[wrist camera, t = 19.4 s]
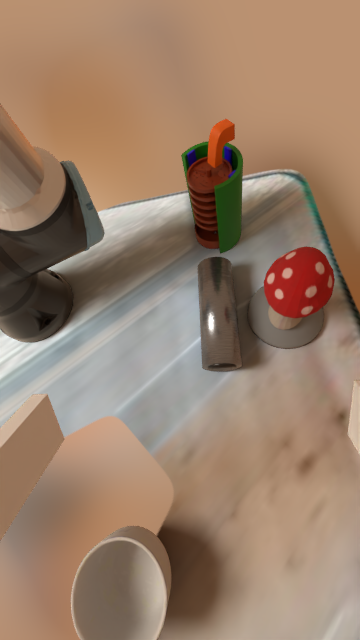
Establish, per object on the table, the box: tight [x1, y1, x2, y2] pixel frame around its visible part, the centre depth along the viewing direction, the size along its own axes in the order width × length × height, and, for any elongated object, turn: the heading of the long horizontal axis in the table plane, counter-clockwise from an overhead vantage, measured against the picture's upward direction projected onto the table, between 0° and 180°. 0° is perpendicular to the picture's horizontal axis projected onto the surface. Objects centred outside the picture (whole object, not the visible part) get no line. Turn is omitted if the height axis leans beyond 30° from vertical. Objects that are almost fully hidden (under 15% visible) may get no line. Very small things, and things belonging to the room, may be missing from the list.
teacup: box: [71, 526, 171, 640], centre depth 33 cm, size 14×11×8 cm
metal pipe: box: [198, 257, 242, 371], centre depth 46 cm, size 6×18×6 cm, turn 1°
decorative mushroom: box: [264, 247, 334, 330], centre depth 39 cm, size 10×9×15 cm
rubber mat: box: [248, 287, 324, 349], centre depth 46 cm, size 12×12×1 cm
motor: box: [181, 119, 243, 253], centre depth 47 cm, size 10×9×20 cm
